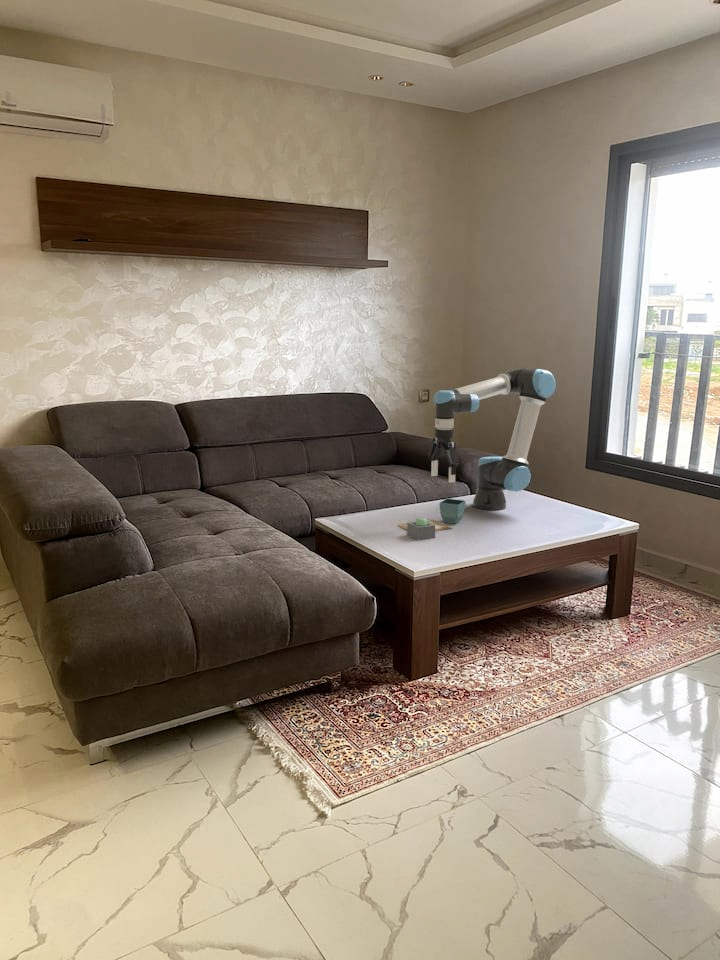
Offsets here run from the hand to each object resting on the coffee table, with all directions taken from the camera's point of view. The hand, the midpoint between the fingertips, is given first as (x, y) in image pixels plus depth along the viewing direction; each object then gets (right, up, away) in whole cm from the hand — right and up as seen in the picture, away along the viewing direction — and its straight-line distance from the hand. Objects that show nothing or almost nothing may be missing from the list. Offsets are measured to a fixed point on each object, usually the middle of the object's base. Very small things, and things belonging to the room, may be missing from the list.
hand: (442, 479), depth 313 cm
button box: (-10, -23, -16) cm, 30 cm away
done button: (-10, -20, -17) cm, 28 cm away
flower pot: (+4, -18, +5) cm, 20 cm away
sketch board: (-8, -20, -3) cm, 22 cm away
